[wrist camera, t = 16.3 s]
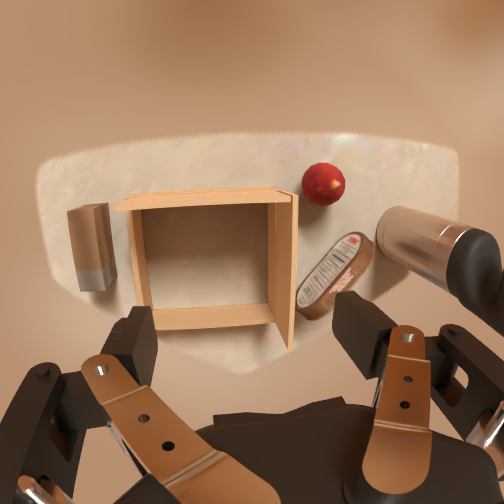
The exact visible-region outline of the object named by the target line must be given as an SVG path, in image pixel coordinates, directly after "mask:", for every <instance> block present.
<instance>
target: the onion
mask: <svg viewBox="0 0 504 504" xmlns="http://www.w3.org/2000/svg"><path fill="white" fill-rule="evenodd" d="M302 188H303V191H304V194H305V195H306V197H307V198H308V199H309V200H310V201H311V202H313V203H315V204H318V205H321V206H323V205H331V204H333V203H334V202H336V201H338V200H339V199H340V197H341V196H342V195H343V193H344V189H345V179H344V177H343V174H342V172H341V171H340V170H339V169H338V168H337V167H335V166H333V165H331V164H329V163H317V164H315V165H312V166H310V167H309V169H308V170H307V171H306V172H305V173H304V176H303V178H302Z"/></svg>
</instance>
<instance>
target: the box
mask: <svg viewBox="0 0 504 504" xmlns="http://www.w3.org/2000/svg"><path fill="white" fill-rule="evenodd" d="M67 216H68V224H69V232H70V239H71V245H72V251H73V257H74V263H75V268H76V273H77V278H78V283H79V287H80V292H83V291H106V290H107V288H108V287H109V286H110V284H111V283H112V282H113V280H114V279H115V278H116V276H117V270H116V264H115V257H114V250H113V243H112V235H111V227H110V217H109V207H108V203H100V204H91V205H84V206H81V207H78V208H76V209H73V210H70V211H67Z"/></svg>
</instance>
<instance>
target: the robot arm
mask: <svg viewBox="0 0 504 504" xmlns="http://www.w3.org/2000/svg"><path fill="white" fill-rule="evenodd" d="M377 244H378V247H379V249H380V251H381V252H382V253H383V254H384V255H385V256H387V257H389V258H390V259H392V260H394V261H396V262H397V263H399V264H401V265H403V266H404V267H406V268H408V269H410V270H411V271H413V272H415V273H416V274H418V275H420V276H422V277H423V278H425V279H427V280H428V281H430V282H432V283H434V284H435V285H437V286H438V287H440V288H442V289H444V290H445V291H447V292H449V293H450V294H452V295H453V296H455V297H457V298H458V300H459V301H460V302H461V304H462V305H463V306H464V307H465V308H467V309H468V310H469V311H471V312H472V313H474V314H475V315H476V316H478V317H479V318H480V319H482V320H483V321H484V322H485V323H487V324H488V325H489V326H490V327H492V328H493V329H494V330H495V331H496V332H498V333H499V334H500V335H502V336H503V337H504V270H503V271H502V265H501V257H500V250H499V246H498V244H497V241H496V239H495V238H494V237H493V236H492V235H491V234H490V233H487V232H486V231H483V230H480V229H477V228H474V227H470V226H468V225H465V224H461V223H458V222H455V221H451V220H448V219H445V218H442V217H438V216H435V215H431V214H428V213H424V212H421V211H418V210H414V209H410V208H407V207H403V206H397V207H393V208H391V209H389V210H388V211H387V212H386V213H385V214H384V215H383V217H382V218H381V220H380V222H379V225H378V228H377ZM332 330H333V333H334V336H335V337H336V338H337V340H338V341H339V342H340V344H341V345H342V347H343V348H344V350H345V351H346V352H347V354H348V355H349V356H350V358H351V359H352V360H353V362H354V363H355V365H356V366H357V367H358V369H359V370H360V371H361V373H362V374H363V376H364V377H365V378H366V379H367V380H368V379H372V378H375V377H378V378H379V380H378V383H377V386H376V391H375V394H374V398H373V402H372V406H371V407H368V406H364V405H356V404H346V403H345V401H344V399H343V398H342V396H340V397H336V398H331V399H327V400H322V401H317V402H312V403H310V404H307V405H305V406H302V407H300V408H297V409H295V410H292V411H290V412H287V413H284V414H265V413H249V412H244V413H234V414H222V415H213V421H214V424H213V425H209V426H206V427H203V428H201V429H199V430H196V431H193V430H192V429H191V428H190V427H189V426H188V425H187V424H186V423H184V422H183V421H182V420H181V419H180V418H179V417H178V416H177V415H176V414H175V413H174V412H173V411H172V410H171V409H170V408H169V407H168V406H167V405H166V404H165V403H164V402H163V401H162V400H161V399H160V398H159V397H158V396H157V395H156V394H155V392H153V390H152V389H151V388H150V386H151V381H152V375H153V371H154V366H155V361H156V356H157V351H158V342H157V335H156V330H155V325H154V319H153V314H152V309H151V307H150V306H133V307H132V309H131V311H130V314H129V316H128V318H121V319H120V320H119V321H118V322H116V323H115V324H114V326H113V328H112V330H111V332H110V334H109V336H108V338H107V340H106V342H105V344H104V346H103V348H102V350H101V353H100V354H99V355H95V356H92V357H90V358H88V359H87V360H86V361H85V362H84V363H83V364H82V366H81V371H77V372H72V373H64V374H62V373H61V371H60V368H59V367H58V366H57V365H56V364H54V363H50V362H45V363H40V364H38V365H36V366H34V367H32V368H31V369H30V370H29V371H28V373H27V375H26V376H25V378H24V380H23V381H22V383H21V385H20V387H19V389H18V390H17V392H16V394H15V396H14V398H13V399H12V401H11V403H10V405H9V407H8V409H7V411H6V413H5V415H4V417H3V419H2V421H1V423H0V504H76V503H75V502H74V501H73V500H72V498H73V492H74V486H75V480H76V475H77V470H78V465H79V460H80V455H81V451H82V447H83V442H84V438H85V434H86V429H90V428H96V427H103V426H106V427H107V428H108V430H109V431H110V433H111V435H112V436H113V438H114V439H115V441H116V442H117V443H118V445H119V446H120V448H121V449H122V451H123V452H124V454H125V455H126V456H127V457H128V459H129V461H130V462H131V464H132V465H133V467H134V468H135V470H136V471H137V472H138V474H139V475H140V476H141V479H140V480H139V481H138V482H137V483H136V484H135V485H134V486H132V487H131V488H130V489H129V490H128V491H127V492H126V493H125V494H123V495H122V496H121V497H120V498H119V499H118V500H116V501H115V502H114V503H113V504H504V498H503V496H502V493H501V490H500V486H499V481H504V361H503V360H502V359H500V358H499V357H498V356H497V355H496V354H495V353H494V352H492V351H491V350H490V349H489V348H488V347H487V346H485V345H484V344H483V343H482V342H481V341H479V340H478V339H477V338H476V337H474V336H473V335H472V334H471V333H470V332H468V331H467V330H466V329H464V328H463V327H461V326H458V325H454V324H446V325H443V326H442V327H441V328H440V331H439V335H438V336H433V337H425V336H424V333H423V332H422V331H421V330H419V329H418V328H415V327H413V326H409V325H400V326H398V325H397V324H396V323H395V322H394V321H393V320H392V319H390V318H389V317H388V316H387V315H386V314H385V313H384V312H383V311H382V310H380V309H379V308H378V307H377V306H376V305H374V303H371V302H369V301H367V300H365V299H363V298H362V297H360V296H359V295H358V294H357V293H356V292H355V291H353V290H352V291H344V292H337V294H336V296H335V303H334V312H333V320H332ZM458 366H460V367H461V368H462V369H463V370H464V371H465V372H466V373H467V375H468V379H469V382H468V386H467V388H466V389H465V388H464V387H463V386H462V385H461V384H460V383H459V381H458V380H457V379H456V378H455V377H454V375H455V373H456V371H457V368H458ZM430 397H431V398H432V400H433V401H434V402H435V404H436V405H437V406H438V407H439V409H440V410H441V411H442V412H443V414H444V415H445V416H446V418H447V419H448V420H449V422H450V423H451V424H452V426H453V427H454V428H455V430H456V431H457V432H458V433H459V435H460V436H461V438H462V439H463V440H464V441H461V440H458V439H455V438H452V437H449V436H446V435H443V434H440V433H438V432H435V431H432V430H430V429H429V419H430Z"/></svg>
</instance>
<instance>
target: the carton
mask: <svg viewBox="0 0 504 504" xmlns="http://www.w3.org/2000/svg"><path fill="white" fill-rule="evenodd" d="M240 203H267V212H268V284H267V303H258V304H245V305H232V306H217V307H200V308H181V309H158V310H153V306H152V300H151V293H150V287H149V280H148V272H147V265H146V257H145V248H144V239H143V229H142V218H141V209H151V208H165V207H180V206H197V205H216V204H240ZM114 210H115V212H116V211H126V217H127V227H128V237H129V245H130V253H131V261H132V268H133V275H134V281H135V287H136V293H137V299H138V305H139V306H150V307H151V309H152V314H153V319H154V325H155V330H180V329H200V328H217V327H231V326H244V325H255V324H266V323H276V325H277V327H278V329H279V331H280V334H281V336H282V338H283V340H284V343H285V345H286V347H287V349H288V350H291V349H292V348H293V333H294V316H295V297H296V273H297V243H298V195H296V194H293V193H290V192H287V191H283V190H280V189H277V188H274V187H258V188H225V189H203V190H186V191H170V192H157V193H145V194H134V195H132V196H129V197H127V198H125V201H124V202H121V203H119V204H117V205H115V206H114Z"/></svg>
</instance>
